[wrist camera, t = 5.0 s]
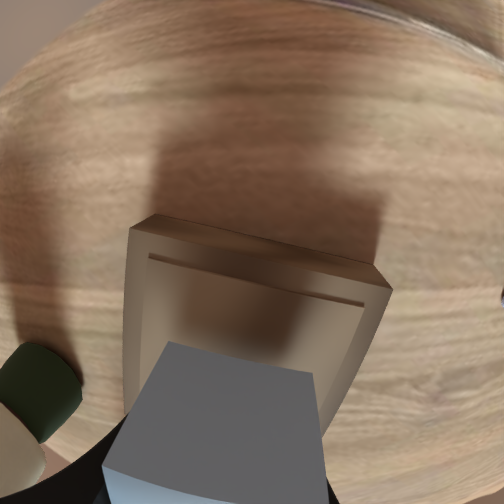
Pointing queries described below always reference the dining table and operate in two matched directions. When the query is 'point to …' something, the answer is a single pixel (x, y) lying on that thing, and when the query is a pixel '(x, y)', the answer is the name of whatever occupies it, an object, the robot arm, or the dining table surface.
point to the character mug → (32, 412)
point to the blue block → (219, 435)
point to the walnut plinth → (247, 305)
